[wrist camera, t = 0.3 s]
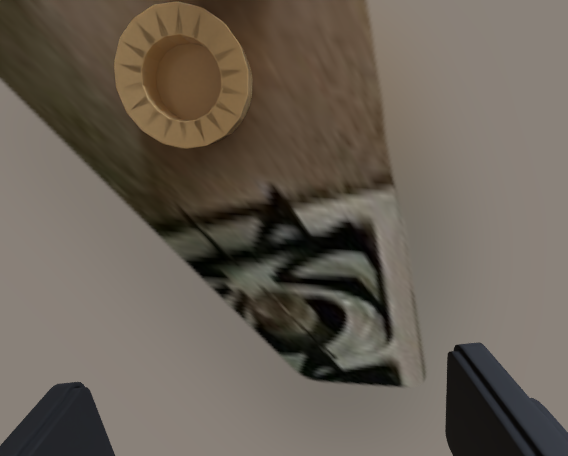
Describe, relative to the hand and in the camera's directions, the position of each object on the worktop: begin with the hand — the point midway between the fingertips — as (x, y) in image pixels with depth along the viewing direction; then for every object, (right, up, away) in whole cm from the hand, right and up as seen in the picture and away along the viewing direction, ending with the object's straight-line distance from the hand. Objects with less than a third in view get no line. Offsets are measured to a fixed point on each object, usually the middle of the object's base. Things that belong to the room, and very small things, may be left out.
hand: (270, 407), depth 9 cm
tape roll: (-9, +19, +26) cm, 33 cm away
